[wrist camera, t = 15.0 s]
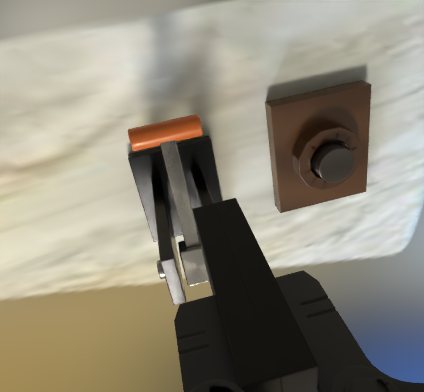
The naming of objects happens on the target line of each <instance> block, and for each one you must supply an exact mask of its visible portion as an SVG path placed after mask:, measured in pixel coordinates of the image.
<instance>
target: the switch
mask: <svg viewBox="0 0 424 392" xmlns="http://www.w3.org/2000/svg"><path fill="white" fill-rule="evenodd" d="M202 134H203V133H202V126H201V122H200V118H199V116H198V114H194V115H190V116H185V117H181V118H176V119H172V120H167V121H163V122H159V123H154V124H150V125H145V126H141V127H136V128H132V129H129V130H128V135H129V139H130V143H131V146H132V149H133V151H138V150H142V149H146V148H151V147H155V146H159V145H161V149H162V153H163V157H164V161H165V165H166V169H167V173H168V177H169V181H170V185H171V189H172V193H173V197H174V201H175V205H176V209H177V213H178V217H179V221H180V225H181V229H182V233H183V237H184V241H181V242H178V244H179V252H180V257H181V260H182V264H183V268H184V272H185V276H186V280H187V284H188V286H193V285H196V284H200V283H204V282H208V281H209V277H208V274H207V270H206V266H205V261H204V257H203V253H202V248H201V244H200V240H199V236H198V232H197V227H196V223H195V219H194V215H193V211H192V206H191V202H190V198H189V194H188V190H187V185H186V181H185V177H184V173H183V169H182V165H181V160H180V156H179V152H178V148H177V144H176V142H177V141H181V140H185V139H190V138H194V137H198V136H202Z"/></svg>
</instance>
